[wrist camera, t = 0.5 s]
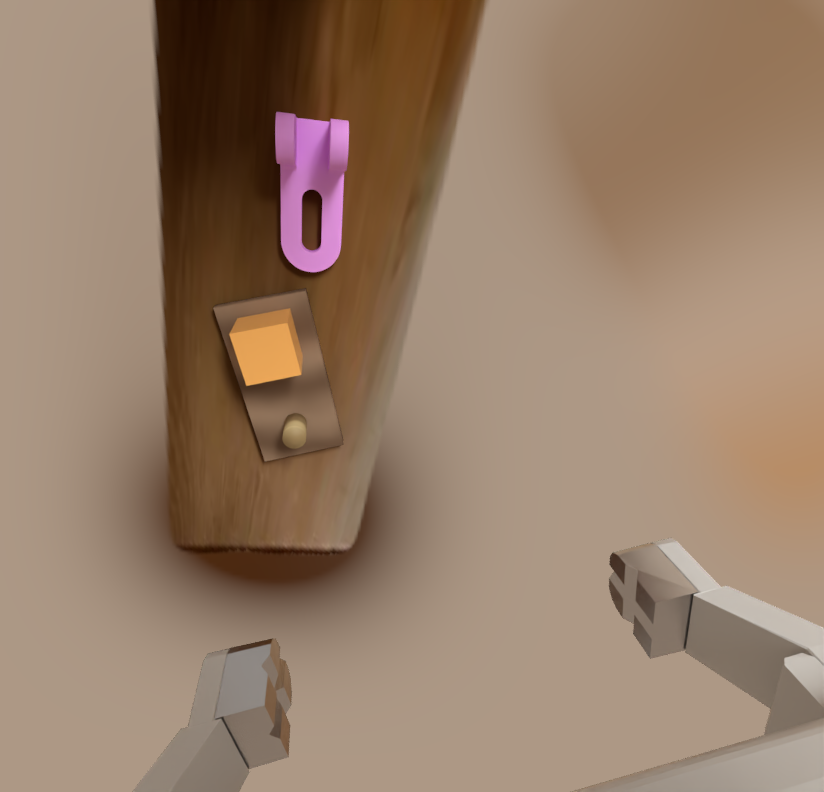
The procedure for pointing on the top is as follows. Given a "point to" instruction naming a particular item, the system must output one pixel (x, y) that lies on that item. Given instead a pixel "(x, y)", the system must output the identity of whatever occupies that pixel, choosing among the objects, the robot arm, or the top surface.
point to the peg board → (286, 383)
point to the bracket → (311, 184)
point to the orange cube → (267, 347)
